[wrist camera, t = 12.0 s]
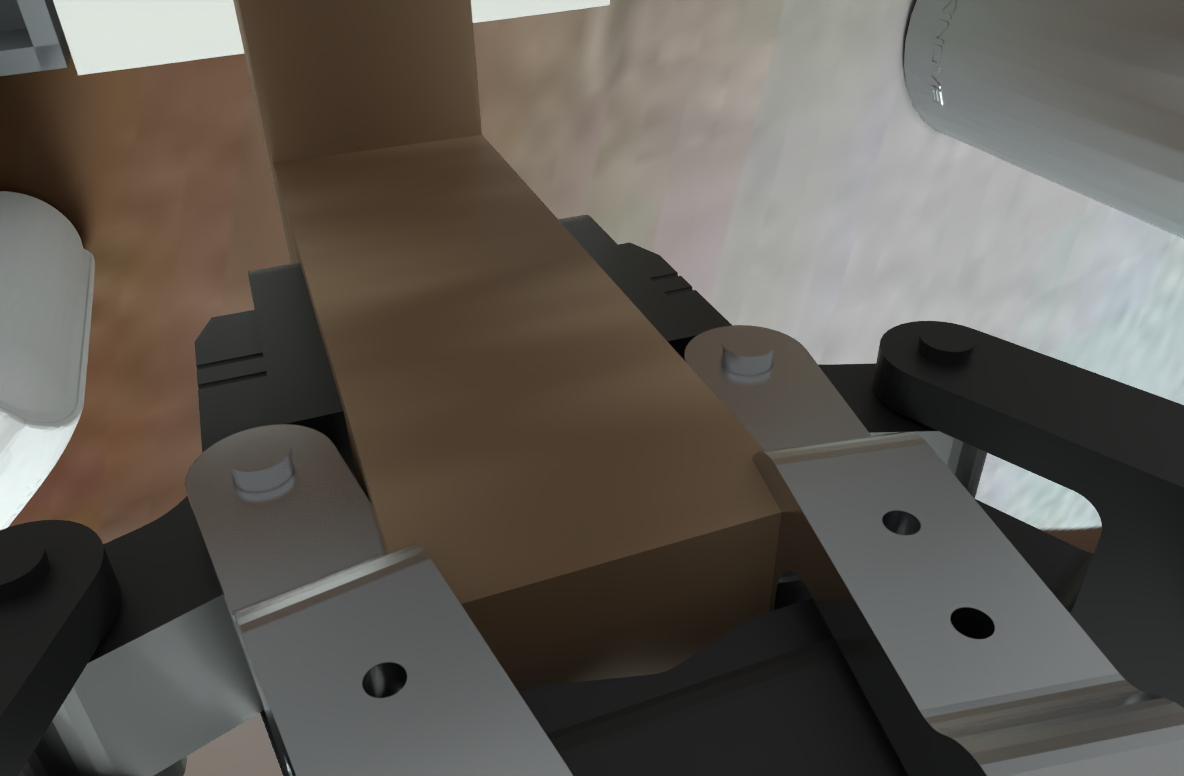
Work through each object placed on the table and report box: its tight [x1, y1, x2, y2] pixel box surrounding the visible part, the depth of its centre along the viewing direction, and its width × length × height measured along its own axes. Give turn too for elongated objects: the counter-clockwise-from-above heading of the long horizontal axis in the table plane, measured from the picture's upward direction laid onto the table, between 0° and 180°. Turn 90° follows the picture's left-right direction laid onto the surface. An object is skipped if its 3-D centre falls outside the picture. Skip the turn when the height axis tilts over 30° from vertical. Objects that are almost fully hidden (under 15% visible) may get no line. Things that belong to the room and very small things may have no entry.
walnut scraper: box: [233, 0, 781, 692], centre depth 12 cm, size 3×11×12 cm, turn 1°
